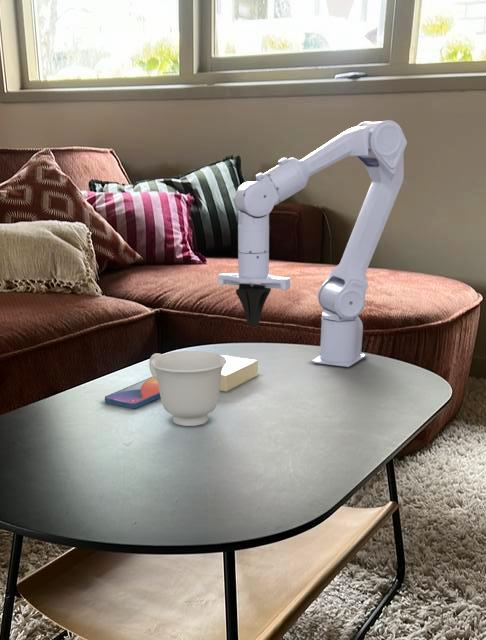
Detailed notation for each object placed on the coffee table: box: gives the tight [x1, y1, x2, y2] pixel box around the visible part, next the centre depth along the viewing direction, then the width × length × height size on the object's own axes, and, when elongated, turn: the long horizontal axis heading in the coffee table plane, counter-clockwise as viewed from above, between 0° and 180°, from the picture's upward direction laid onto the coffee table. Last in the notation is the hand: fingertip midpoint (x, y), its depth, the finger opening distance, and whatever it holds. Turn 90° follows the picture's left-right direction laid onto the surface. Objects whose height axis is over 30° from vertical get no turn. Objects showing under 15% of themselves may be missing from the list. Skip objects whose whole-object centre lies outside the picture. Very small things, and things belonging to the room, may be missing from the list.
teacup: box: [148, 350, 227, 427], centre depth 123 cm, size 12×15×10 cm
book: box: [219, 354, 259, 392], centre depth 144 cm, size 12×9×3 cm
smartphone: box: [104, 376, 161, 409], centre depth 137 cm, size 7×15×1 cm, turn 145°
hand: (253, 325), depth 148 cm, fingers closed
